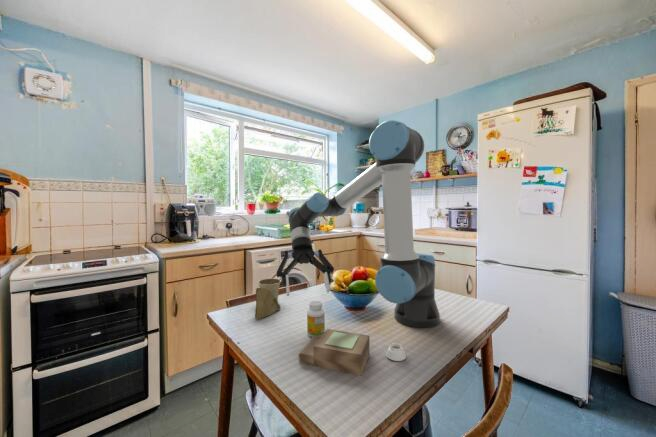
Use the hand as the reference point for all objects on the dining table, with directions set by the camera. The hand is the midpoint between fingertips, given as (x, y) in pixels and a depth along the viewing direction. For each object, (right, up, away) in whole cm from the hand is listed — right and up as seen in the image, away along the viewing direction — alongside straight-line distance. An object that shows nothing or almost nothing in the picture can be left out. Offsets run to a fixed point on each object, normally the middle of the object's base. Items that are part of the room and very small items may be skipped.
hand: (308, 292), depth 91 cm
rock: (-16, -11, +10) cm, 22 cm away
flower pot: (-18, -10, +23) cm, 31 cm away
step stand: (+9, -12, -20) cm, 25 cm away
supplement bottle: (+3, -11, -6) cm, 13 cm away
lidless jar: (+24, -12, -19) cm, 33 cm away
